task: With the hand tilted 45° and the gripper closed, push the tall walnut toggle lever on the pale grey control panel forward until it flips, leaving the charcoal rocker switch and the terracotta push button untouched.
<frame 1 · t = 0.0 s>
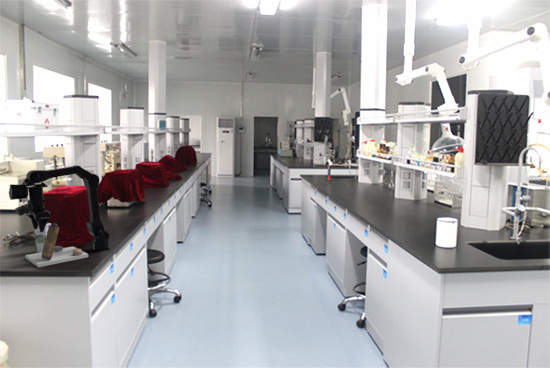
hand: (38, 230, 191), 15 cm above the table, tool pointing down, fingers open, 9 cm apart
syrup box: (44, 252, 209), on the table
walnut lever: (50, 240, 191), point 10 cm above the table, hinge at -18.0°
charcoal rocker: (56, 248, 204), point 3 cm above the table, hinge at -10.0°, touching control panel
control panel: (57, 257, 198), on the table
terracotta button: (77, 251, 198), point 3 cm above the table, slide at 0.0 cm
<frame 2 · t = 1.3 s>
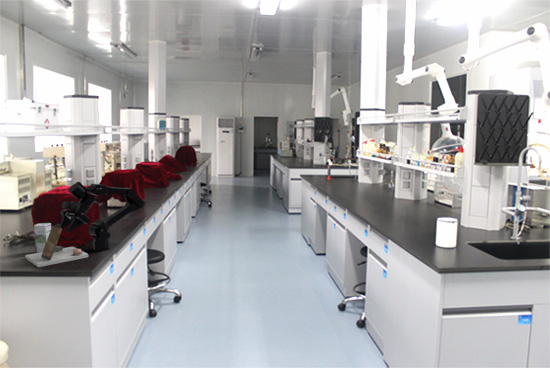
hand: (63, 230, 196), 13 cm above the table, tool tilted 45°, fingers open, 7 cm apart
walnut lever: (52, 241, 192), point 10 cm above the table, hinge at -23.7°
everything else where it was.
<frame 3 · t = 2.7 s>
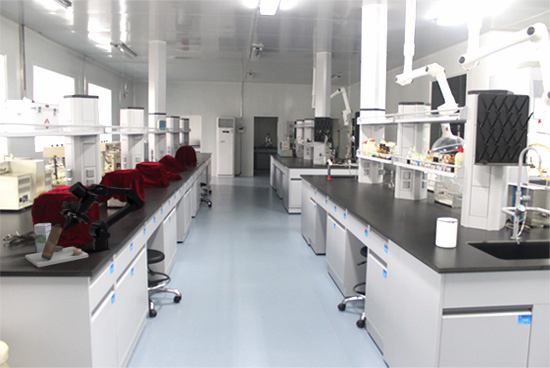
hand: (63, 230, 196), 14 cm above the table, tool tilted 45°, fingers closed
nothing on the table moved.
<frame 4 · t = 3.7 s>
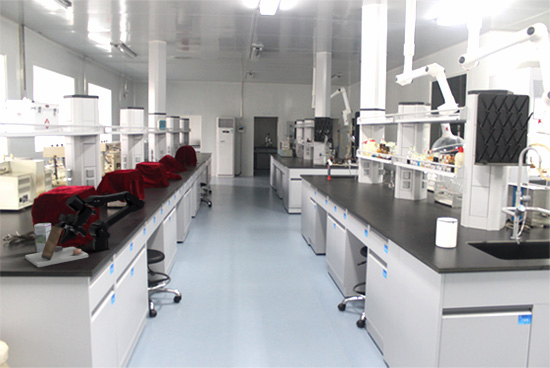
hand: (60, 243, 195), 8 cm above the table, tool tilted 45°, fingers closed
nothing on the table moved.
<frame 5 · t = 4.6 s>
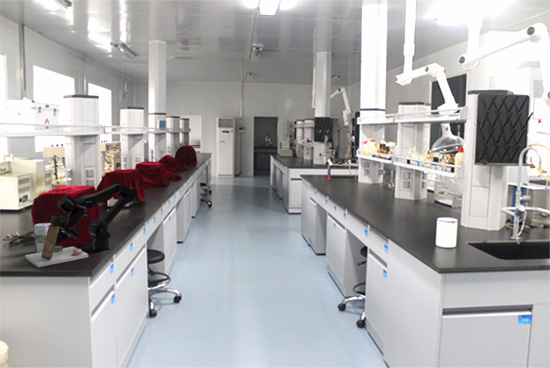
hand: (52, 245, 192), 7 cm above the table, tool tilted 45°, fingers closed, pressing on walnut lever
walnut lever: (50, 240, 191), point 10 cm above the table, hinge at -17.5°, touching gripper
everything else where it was.
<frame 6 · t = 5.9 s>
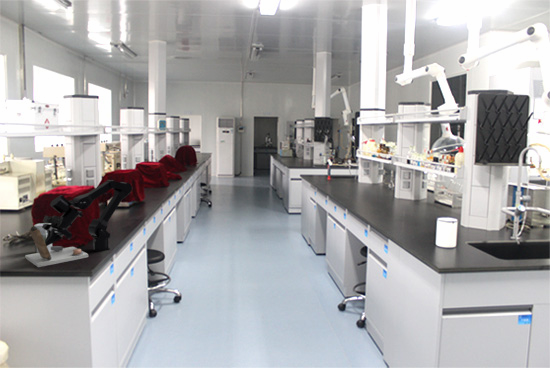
hand: (44, 246, 189), 8 cm above the table, tool tilted 45°, fingers closed, pressing on walnut lever
walnut lever: (40, 242, 188), point 10 cm above the table, hinge at 17.5°, touching gripper
everything else where it was.
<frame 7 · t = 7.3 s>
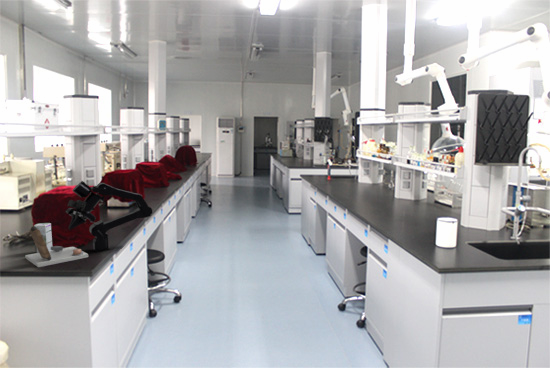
hand: (69, 229, 199), 14 cm above the table, tool tilted 45°, fingers closed
walnut lever: (40, 242, 188), point 10 cm above the table, hinge at 17.5°
everything else where it was.
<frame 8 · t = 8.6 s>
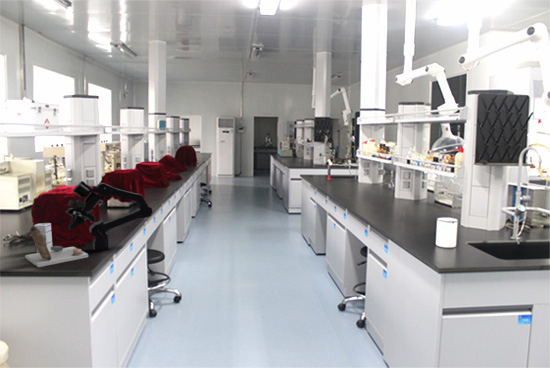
hand: (69, 228, 199), 14 cm above the table, tool tilted 45°, fingers closed
nothing on the table moved.
at the end: walnut lever at +18° (first picture: -18°); charcoal rocker at -10° (first picture: -10°); terracotta button slide at 0.0 cm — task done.
